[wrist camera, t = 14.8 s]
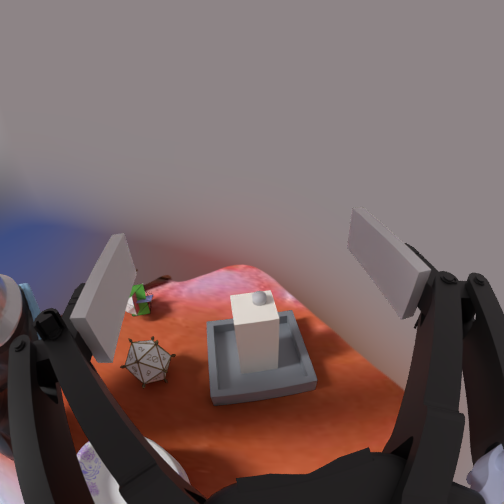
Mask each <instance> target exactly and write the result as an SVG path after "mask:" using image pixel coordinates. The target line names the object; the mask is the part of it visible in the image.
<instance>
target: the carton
mask: <svg viewBox="0 0 504 504" xmlns="http://www.w3.org/2000/svg"><path fill="white" fill-rule="evenodd" d="M230 298H231V305H232V313H233V320H234V328H235V335H236V342H237V349H238V356H239V362H240V369H241V374H244V373H252V372H259V371H265V370H271V369H277V368H278V351H279V316H278V312H277V309H276V306H275V303H274V299H273V296H272V293H271V290H269V291H257V292H254V293H247V294H239V295H231V296H230Z"/></svg>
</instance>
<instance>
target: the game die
mask: <svg viewBox="0 0 504 504" xmlns="http://www.w3.org/2000/svg"><path fill="white" fill-rule="evenodd" d="M128 339H129V338H128ZM153 340H154V336H153V337H151V340H148V341H138V342H132V340H131V339H129V341H130V342H131V346H130V349H129V353H128V356H127V360H126V363H125V365H123V366H121V367H120V368H122V369H123V368H127V369H128V370H129V371H130V372H131V373H132V374H133V375H134V376H135V377H136V378H137V379H139V380H140V381H141V382H142V383H143V385H142V387H143V389H144V388H145V386H146V385H145V384H147V383H152V382H156V381H160V380H164V381H165V382H167V383H168V381H167V380H166V379H165V377H166V373H168V372H167V370H168V367H169V363H170V360H171V357H175V356H176V355H175V354H172V355H170V354H169V353H168V352H166V351H165V350H164V349H163V348H162V347H160V346H159V345H158V343H159V342H158V340H157V341H155V342H154V341H153Z"/></svg>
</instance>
